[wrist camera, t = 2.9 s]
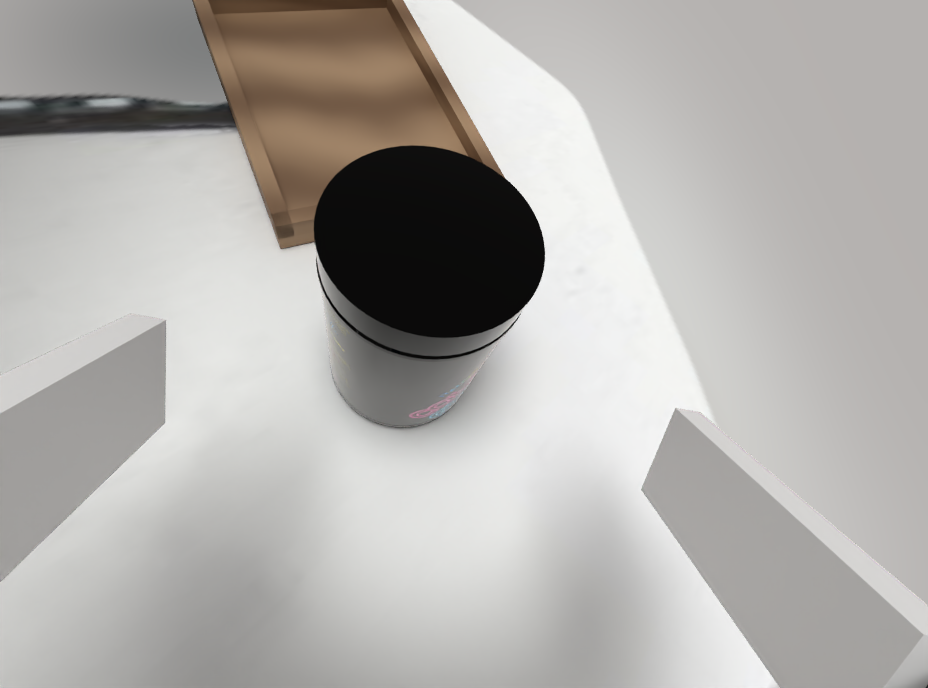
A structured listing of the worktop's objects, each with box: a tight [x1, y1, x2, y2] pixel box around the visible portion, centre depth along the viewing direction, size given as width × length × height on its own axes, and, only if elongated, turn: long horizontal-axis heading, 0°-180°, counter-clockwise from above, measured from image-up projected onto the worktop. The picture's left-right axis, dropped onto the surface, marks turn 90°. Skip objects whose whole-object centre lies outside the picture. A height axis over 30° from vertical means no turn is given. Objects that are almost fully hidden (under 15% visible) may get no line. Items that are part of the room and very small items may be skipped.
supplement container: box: [314, 145, 545, 427], centre depth 18 cm, size 7×7×10 cm
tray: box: [192, 0, 505, 249], centre depth 27 cm, size 18×13×2 cm
